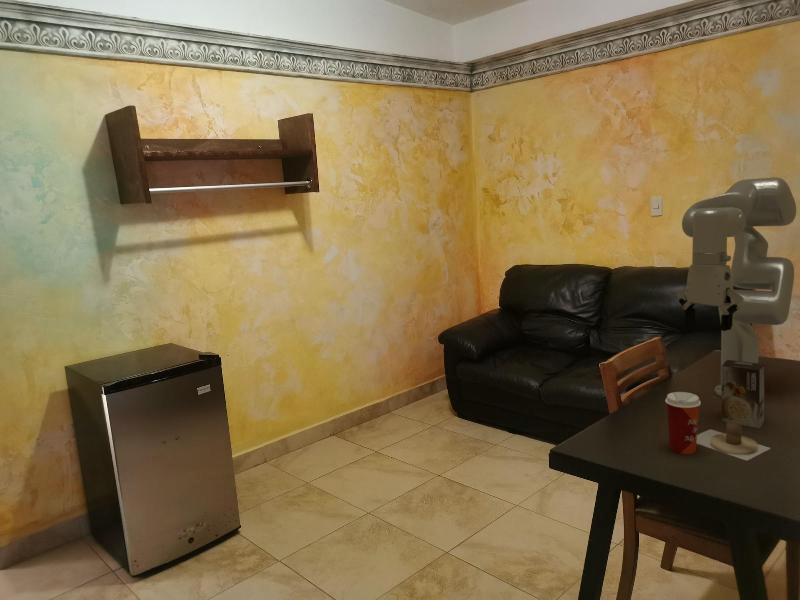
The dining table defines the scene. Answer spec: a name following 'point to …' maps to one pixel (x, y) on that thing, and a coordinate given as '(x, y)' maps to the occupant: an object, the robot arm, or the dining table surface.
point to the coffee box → (743, 392)
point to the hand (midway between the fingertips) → (707, 327)
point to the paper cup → (683, 421)
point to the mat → (705, 441)
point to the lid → (734, 440)
